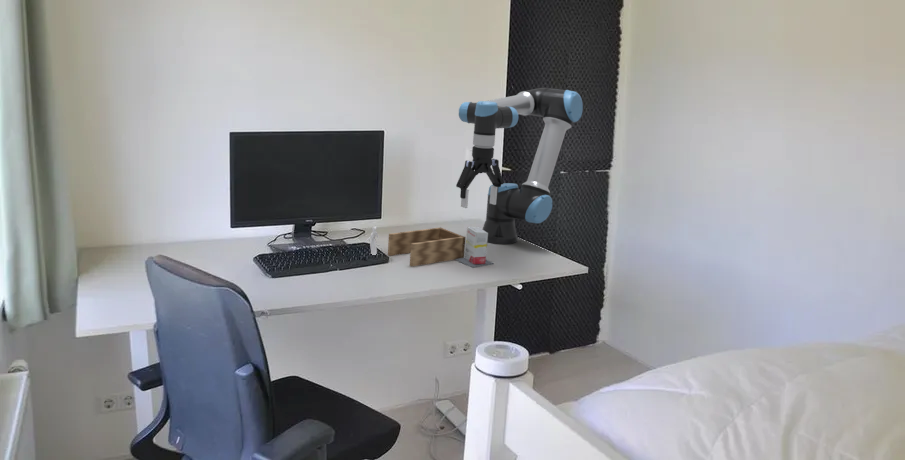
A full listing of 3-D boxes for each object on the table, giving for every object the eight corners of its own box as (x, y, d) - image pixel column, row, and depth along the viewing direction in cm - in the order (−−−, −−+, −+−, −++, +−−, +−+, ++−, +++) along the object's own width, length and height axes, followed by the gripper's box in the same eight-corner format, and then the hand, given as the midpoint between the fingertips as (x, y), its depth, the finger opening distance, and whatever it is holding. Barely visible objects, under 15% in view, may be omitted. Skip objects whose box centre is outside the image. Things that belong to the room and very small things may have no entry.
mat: (475, 256, 264) (475, 255, 264) (493, 264, 257) (493, 262, 257) (454, 260, 258) (455, 258, 258) (472, 267, 251) (472, 266, 251)
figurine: (371, 252, 259) (372, 221, 256) (389, 258, 254) (391, 226, 251) (354, 257, 252) (355, 224, 249) (373, 263, 247) (374, 230, 244)
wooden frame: (439, 247, 273) (440, 227, 271) (463, 258, 261) (465, 237, 259) (387, 255, 258) (388, 233, 256) (411, 266, 247) (412, 244, 245)
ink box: (486, 264, 255) (488, 232, 252) (473, 264, 253) (476, 232, 250) (476, 257, 262) (479, 226, 259) (464, 257, 260) (466, 226, 257)
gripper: (502, 143, 258) (497, 200, 263) (448, 146, 242) (444, 206, 248) (516, 146, 253) (511, 204, 258) (462, 149, 237) (458, 211, 242)
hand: (478, 205), depth 253 cm, fingers open, 13 cm apart
